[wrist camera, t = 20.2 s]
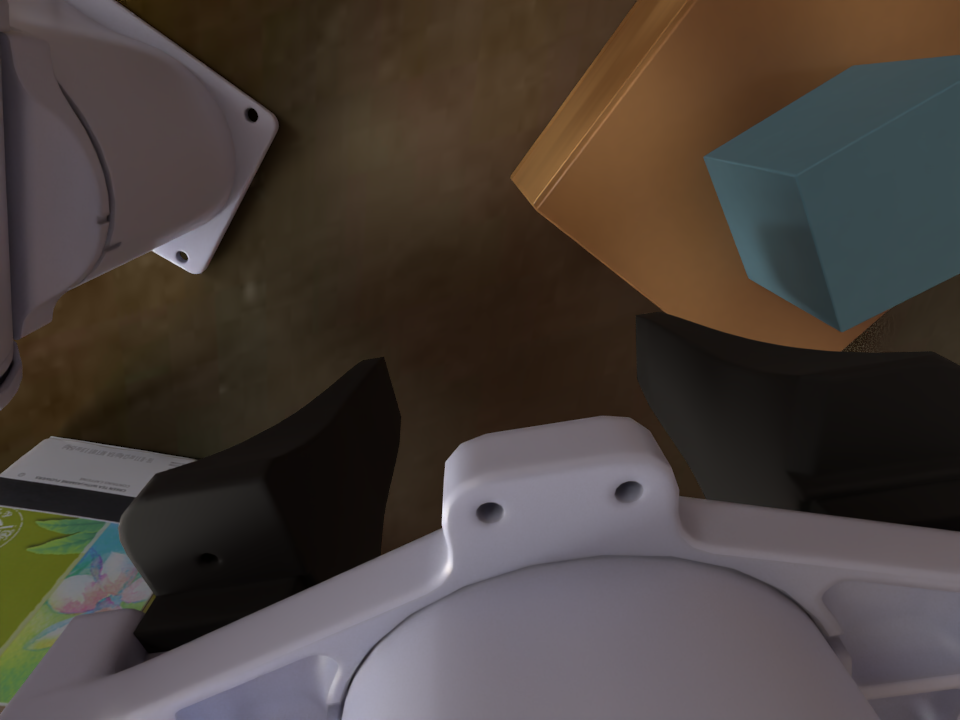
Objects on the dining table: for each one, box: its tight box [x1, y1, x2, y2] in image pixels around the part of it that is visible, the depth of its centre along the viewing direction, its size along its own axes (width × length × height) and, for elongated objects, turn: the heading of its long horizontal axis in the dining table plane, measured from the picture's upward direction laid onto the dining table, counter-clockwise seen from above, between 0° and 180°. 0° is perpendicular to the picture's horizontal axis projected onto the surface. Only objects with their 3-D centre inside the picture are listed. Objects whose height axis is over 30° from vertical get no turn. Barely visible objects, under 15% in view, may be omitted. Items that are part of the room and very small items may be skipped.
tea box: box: [0, 436, 197, 714], centre depth 24 cm, size 15×10×15 cm
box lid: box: [533, 0, 960, 352], centre depth 15 cm, size 11×12×1 cm
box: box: [510, 0, 688, 206], centre depth 19 cm, size 11×12×7 cm
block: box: [703, 55, 960, 332], centre depth 13 cm, size 4×4×4 cm
